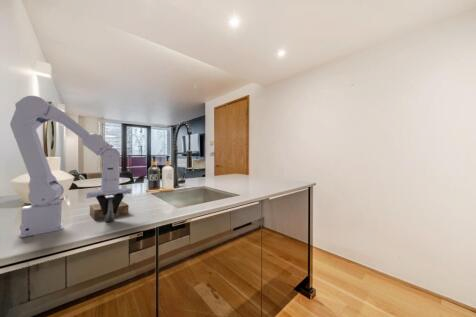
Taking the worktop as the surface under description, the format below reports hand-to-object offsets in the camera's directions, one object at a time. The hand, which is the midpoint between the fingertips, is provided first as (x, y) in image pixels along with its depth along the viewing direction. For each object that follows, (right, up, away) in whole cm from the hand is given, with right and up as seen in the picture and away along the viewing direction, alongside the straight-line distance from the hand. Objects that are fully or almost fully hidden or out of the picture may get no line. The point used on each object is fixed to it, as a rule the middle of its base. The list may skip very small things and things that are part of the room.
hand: (109, 213), depth 72 cm
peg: (0, -3, 0) cm, 3 cm away
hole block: (-6, -3, +8) cm, 11 cm away
